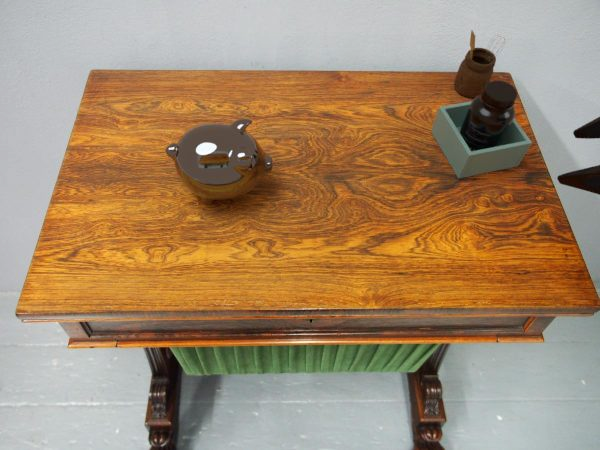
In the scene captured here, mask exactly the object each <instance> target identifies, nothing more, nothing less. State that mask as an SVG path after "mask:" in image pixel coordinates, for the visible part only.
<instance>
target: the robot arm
mask: <svg viewBox="0 0 600 450" xmlns="http://www.w3.org/2000/svg"><path fill="white" fill-rule="evenodd" d="M572 134H573V137H574V138H575V139H583V140H585V139H586V140H587V139H590V140H592V139H600V116H598V117H596V118H594V119H592V120H591V121H589V122H587V123H584V125H582V126H580V127H578V128H576V129H574V130H573V131H572ZM556 179H557V181H558V183H559V184H560V185H563V186H567V187H571V188H574V189H579V190H582V191H585V192H590V193H592V194H596V195H598V196H600V164H598V165H593V166H590V167H585V168H581V169H577V170H572V171H569V172H565V173H562V174H559V175H558V176H557V177H556Z"/></svg>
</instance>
